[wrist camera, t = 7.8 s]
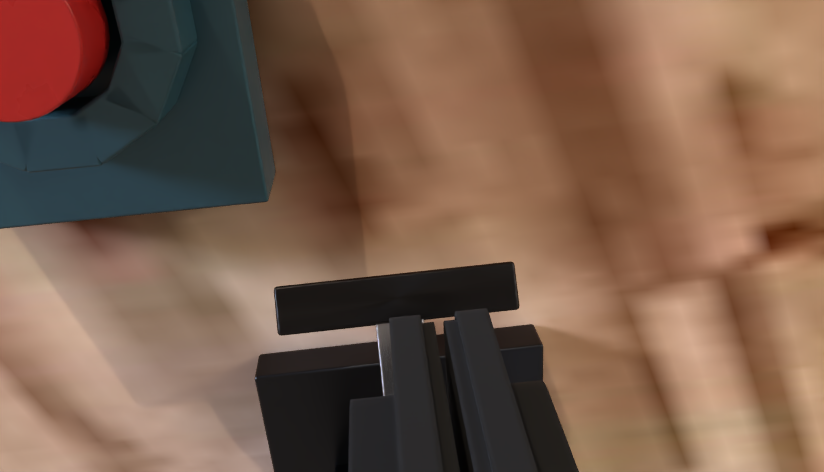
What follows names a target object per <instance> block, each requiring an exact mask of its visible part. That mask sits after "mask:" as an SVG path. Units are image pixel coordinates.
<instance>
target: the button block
mask: <svg viewBox="0 0 824 472" xmlns="http://www.w3.org/2000/svg"><path fill="white" fill-rule="evenodd" d="M101 2H102V5H103V7H104V9H105V13H106V16H107V19H108V25H109V34H110V42H109V51H108V55H107V59H106V62H105V64H104V67H103V68H102V70H101V72H100V74H99V75H98V76H97V78H96V79H95V80H94V81H93V83H91V84H90V85H89V86H88V87H87V88H86V89H84V90H83V91H81V92H80V93H78V94H77V95H75V96H74V97H73V98H71V99H70V100H68V101H67V102H65V103H64V104H62V105H61V106H59V107H58V108H56V109H55V110H53V111H52V112H50V113H48V114H46V115H44V116H42V117H40V118H36V119H33V120H29V121H23V122H0V229H2V228H12V227H22V226H32V225H42V224H52V223H61V222H71V221H81V220H91V219H101V218H111V217H121V216H131V215H141V214H151V213H160V212H170V211H180V210H190V209H200V208H210V207H220V206H230V205H240V204H250V203H260V202H267V201H268V199H269V195H270V191H271V188H272V184H273V180H274V176H275V166H274V160H273V154H272V148H271V142H270V136H269V130H268V124H267V118H266V112H265V105H264V99H263V93H262V87H261V81H260V75H259V69H258V63H257V57H256V51H255V45H254V39H253V33H252V27H251V21H250V15H249V9H248V3H247V0H101Z"/></svg>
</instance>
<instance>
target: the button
mask: <svg viewBox="0 0 824 472" xmlns="http://www.w3.org/2000/svg"><path fill="white" fill-rule="evenodd" d="M109 42H110V34H109V25H108V19H107V16H106V13H105V9H104V7H103V5H102V2H101V0H0V122H23V121H29V120H33V119H36V118H40V117H42V116H44V115H46V114H48V113H50V112H52V111H53V110H55V109H56V108H58V107H59V106H61V105H62V104H64V103H65V102H67V101H68V100H70V99H71V98H73V97H74V96H75V95H77V94H78V93H80V92H81V91H83V90H84V89H86V88H87V87H88V86H89V85H90V84H91V83H93V81H94V80H95V79H96V78H97V76H98V75H99V74H100V72H101V70H102V68H103V67H104V64H105V62H106V59H107V55H108V51H109Z"/></svg>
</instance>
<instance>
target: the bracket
mask: <svg viewBox="0 0 824 472" xmlns="http://www.w3.org/2000/svg"><path fill="white" fill-rule="evenodd" d="M494 332H495V335H496V338H497V341H498V344H499V348H500V351H501V354H502V357H503V361H504V364H505V367H506V370H507V374H508V377H509V380H510V383H518V382H528V381H538V380H542V381H543V345H542V342H541V340H540V338H539V336H538V334H537V332H536V329H535V327H534V325H532V324H530V325H521V326H512V327H503V328H494ZM436 337H437V343H438V348H439V354H440V360H441V366H442V371H443V377H444V383H445V389H446V394H447V400H448V391H447V375H446V358H445V342H444V334H440V335H436ZM255 382H256V387H257V391H258V396H259V401H260V406H261V411H262V416H263V420H264V425H265V430H266V435H267V440H268V445H269V449H270V454H271V459H272V464H273V469H274V472H348V464H349V411H350V400H351V399H360V398H370V397H380V396H383V390H382V381H381V371H380V361H379V352H378V342H369V343H360V344H351V345H342V346H333V347H324V348H315V349H306V350H297V351H288V352H279V353H270V354H261V355H260V356H259V359H258V364H257V370H256V375H255Z"/></svg>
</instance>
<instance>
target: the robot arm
mask: <svg viewBox="0 0 824 472" xmlns="http://www.w3.org/2000/svg"><path fill="white" fill-rule="evenodd" d="M389 325H390V339H391V353H392V367H393V382H394V395H390V396H380V397H370V398H360V399H351V400H350V411H349V464H348V472H579V471H578V468H577V466H576V463H575V460H574V458H573V455H572V452H571V450H570V447H569V445H568V442H567V439H566V437H565V434H564V431H563V429H562V426H561V424H560V421H559V418H558V416H557V413H556V410H555V408H554V405H553V402H552V400H551V397H550V395H549V392H548V389H547V387H546V385H545V383H544V382H543V381H542V380H538V381H528V382H518V383H510V380H509V377H508V374H507V370H506V367H505V364H504V361H503V357H502V354H501V351H500V348H499V344H498V341H497V338H496V335H495V332H494V328H493V325H492V322H491V319H490V315H489V312H488V310H487V309H486V308H485V309H474V310H464V311H455V320H449V321H444V342H445V358H446V375H447V391H448V400H447V394H446V389H445V383H444V377H443V371H442V366H441V360H440V354H439V348H438V343H437V337H436V331H435V326H434V322H428V323H422V321H421V315H413V316H403V317H393V318H389Z"/></svg>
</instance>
